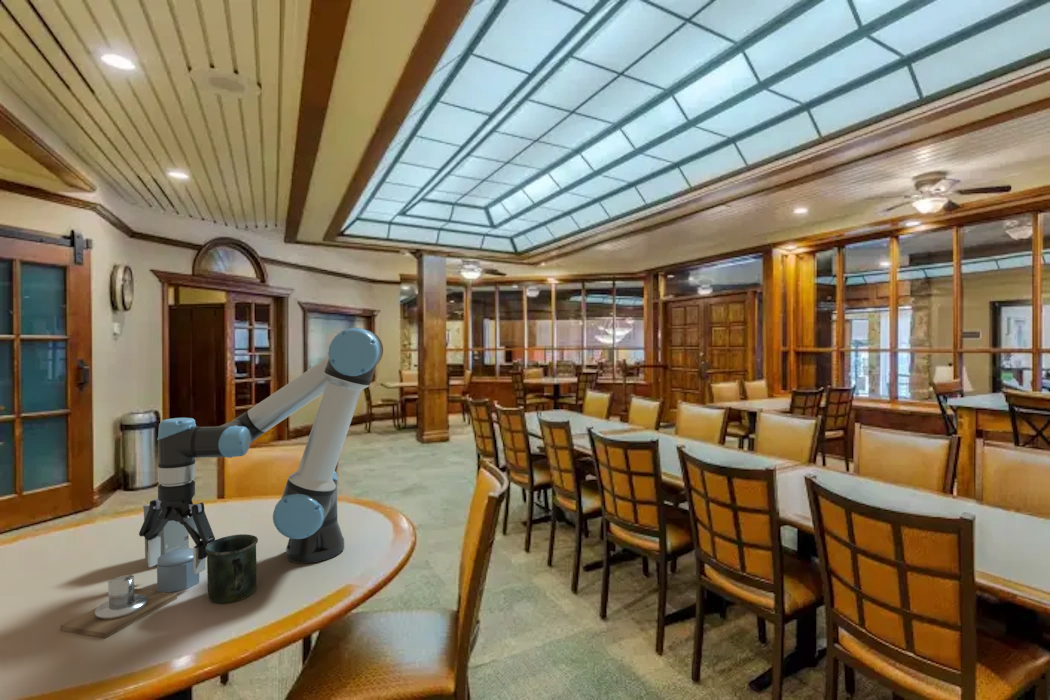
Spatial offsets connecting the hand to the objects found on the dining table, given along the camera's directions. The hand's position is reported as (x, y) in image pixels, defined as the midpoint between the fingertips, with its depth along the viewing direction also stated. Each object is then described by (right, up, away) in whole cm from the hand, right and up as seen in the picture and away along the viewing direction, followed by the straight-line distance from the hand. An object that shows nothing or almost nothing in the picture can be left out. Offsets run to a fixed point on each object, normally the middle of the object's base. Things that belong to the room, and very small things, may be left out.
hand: (176, 568), depth 125 cm
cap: (0, -4, 0) cm, 4 cm away
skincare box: (-12, -4, +15) cm, 20 cm away
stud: (-3, -4, -13) cm, 14 cm away
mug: (+18, -4, -6) cm, 19 cm away
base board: (-3, -4, -13) cm, 14 cm away
